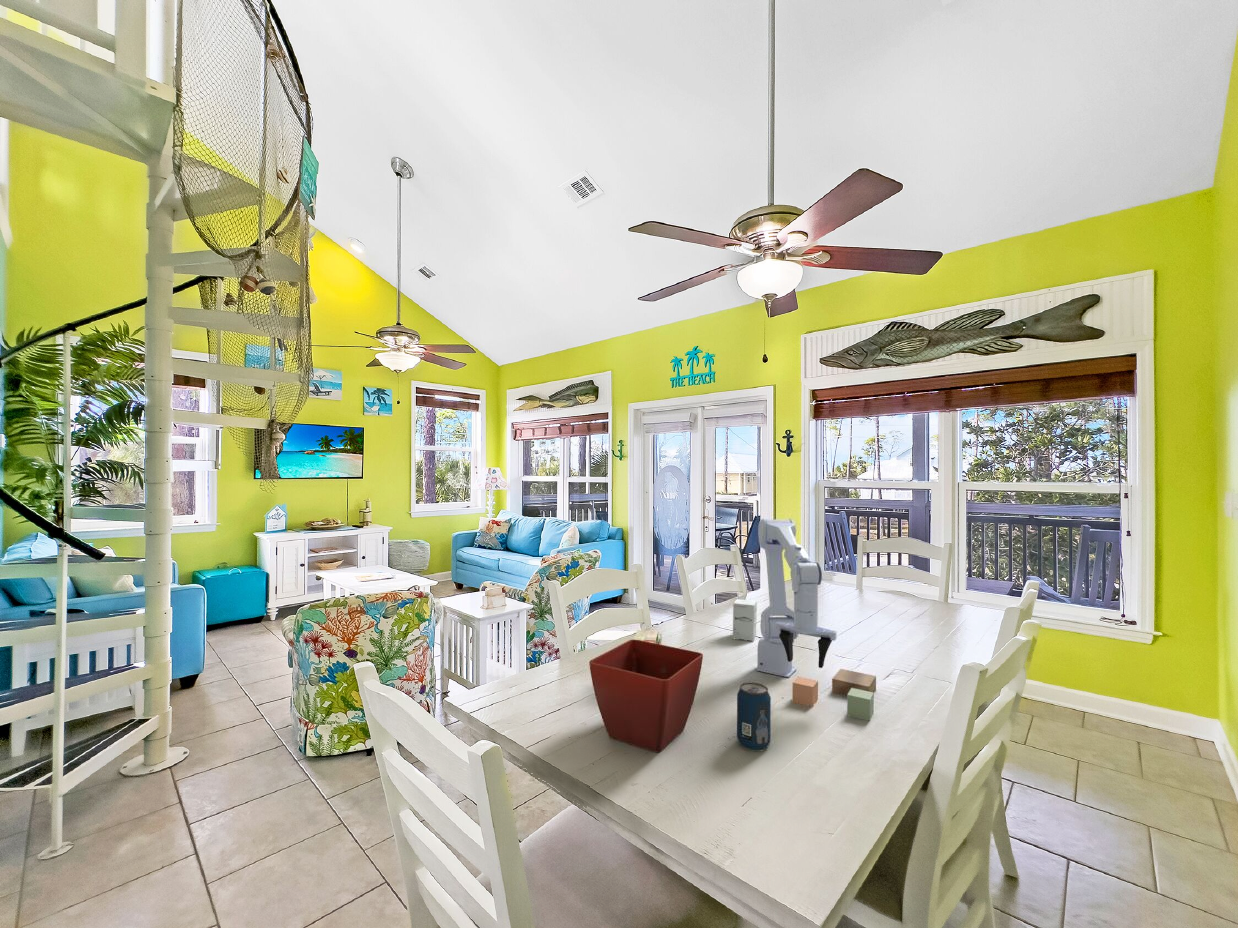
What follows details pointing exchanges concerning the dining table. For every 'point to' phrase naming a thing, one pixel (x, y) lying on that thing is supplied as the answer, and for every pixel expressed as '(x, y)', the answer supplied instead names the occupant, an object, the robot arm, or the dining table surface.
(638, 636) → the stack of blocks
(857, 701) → the green cube
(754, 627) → the supplement box
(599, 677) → the plant pot
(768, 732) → the soda can
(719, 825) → the dining table surface
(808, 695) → the terracotta cube
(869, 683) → the walnut block
